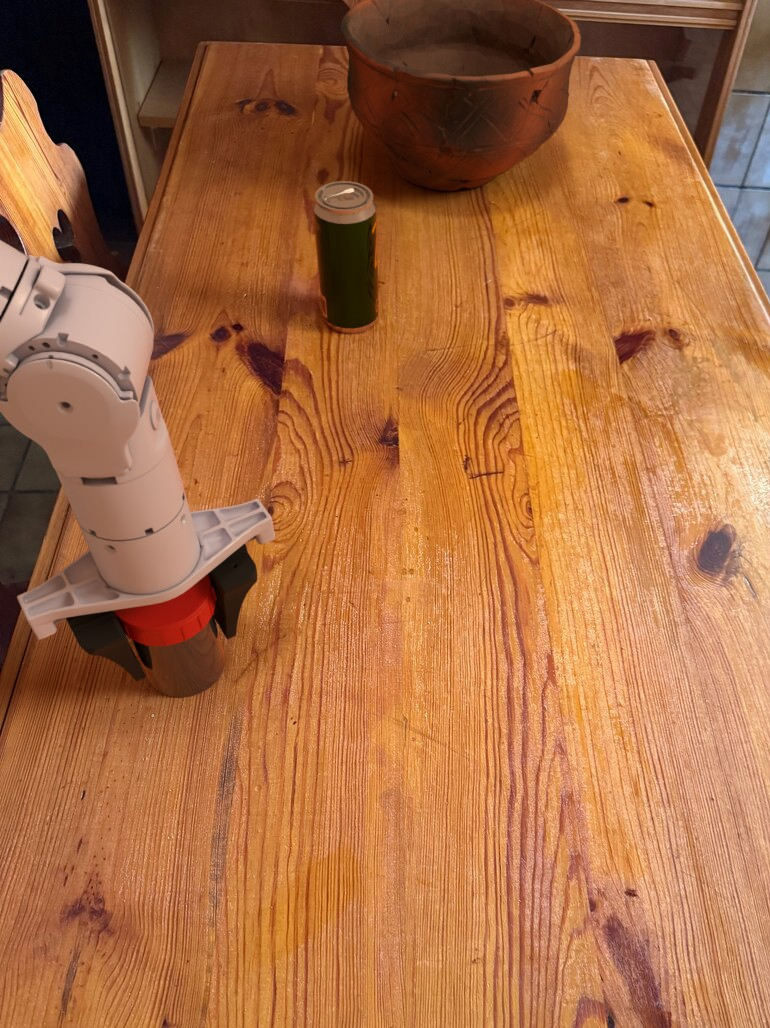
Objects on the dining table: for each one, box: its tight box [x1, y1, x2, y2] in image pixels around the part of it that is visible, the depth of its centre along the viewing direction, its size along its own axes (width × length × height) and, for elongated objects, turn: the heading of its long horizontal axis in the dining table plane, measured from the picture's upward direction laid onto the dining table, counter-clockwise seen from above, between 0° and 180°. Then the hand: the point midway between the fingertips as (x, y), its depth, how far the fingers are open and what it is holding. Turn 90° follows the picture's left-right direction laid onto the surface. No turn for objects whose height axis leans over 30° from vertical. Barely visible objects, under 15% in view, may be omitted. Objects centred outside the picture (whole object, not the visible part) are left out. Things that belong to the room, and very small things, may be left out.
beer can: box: [312, 180, 380, 334], centre depth 80 cm, size 5×5×12 cm
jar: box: [131, 615, 226, 698], centre depth 57 cm, size 5×5×8 cm
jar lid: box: [113, 573, 217, 646], centre depth 54 cm, size 6×6×2 cm
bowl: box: [339, 0, 582, 192], centre depth 97 cm, size 25×25×15 cm
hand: (182, 647), depth 58 cm, fingers closed on jar lid, 5 cm apart
